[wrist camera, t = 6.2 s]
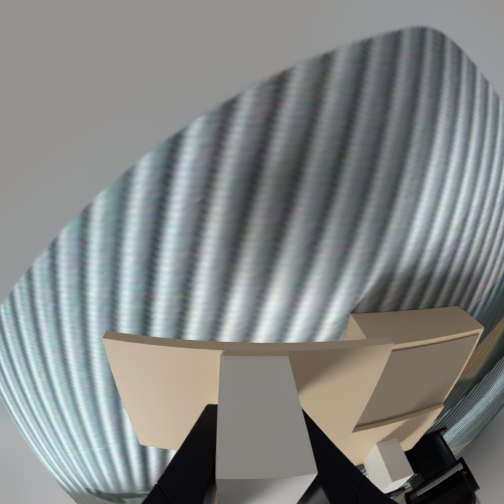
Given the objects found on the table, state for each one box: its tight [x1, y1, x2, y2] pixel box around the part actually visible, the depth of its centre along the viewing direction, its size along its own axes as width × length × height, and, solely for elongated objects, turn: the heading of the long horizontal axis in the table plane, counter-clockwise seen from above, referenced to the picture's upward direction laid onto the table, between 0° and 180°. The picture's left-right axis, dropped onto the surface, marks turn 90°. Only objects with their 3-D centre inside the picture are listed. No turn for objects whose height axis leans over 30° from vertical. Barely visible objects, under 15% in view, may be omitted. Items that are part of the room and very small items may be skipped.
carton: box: [343, 306, 484, 428], centre depth 16 cm, size 10×14×4 cm
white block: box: [102, 331, 394, 504], centre depth 7 cm, size 9×6×4 cm
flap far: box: [337, 403, 444, 493], centre depth 14 cm, size 9×6×4 cm
